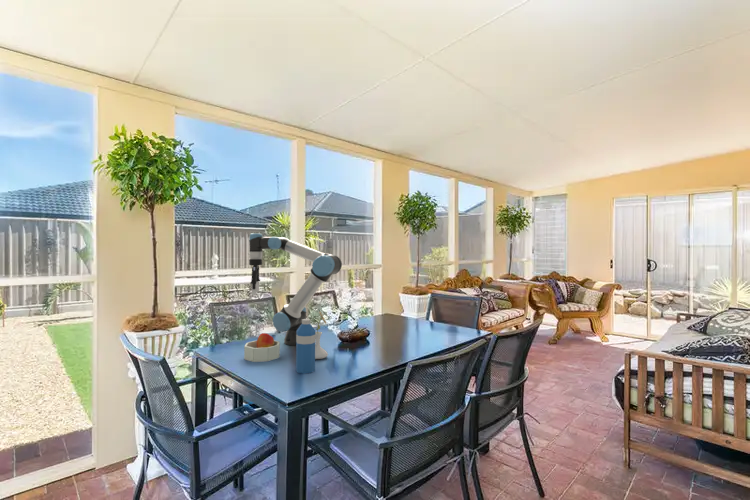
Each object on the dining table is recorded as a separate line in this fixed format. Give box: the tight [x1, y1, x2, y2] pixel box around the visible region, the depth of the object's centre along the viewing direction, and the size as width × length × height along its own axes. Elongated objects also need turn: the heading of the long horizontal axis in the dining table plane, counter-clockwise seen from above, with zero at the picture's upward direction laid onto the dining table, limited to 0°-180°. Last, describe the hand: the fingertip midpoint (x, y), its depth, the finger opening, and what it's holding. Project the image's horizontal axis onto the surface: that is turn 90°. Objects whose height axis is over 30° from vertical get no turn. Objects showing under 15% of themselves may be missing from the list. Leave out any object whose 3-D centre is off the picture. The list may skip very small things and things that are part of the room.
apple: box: [256, 332, 275, 348], centre depth 210 cm, size 10×10×10 cm
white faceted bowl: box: [243, 339, 281, 363], centre depth 207 cm, size 18×18×7 cm
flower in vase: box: [315, 311, 329, 360], centre depth 207 cm, size 13×11×25 cm
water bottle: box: [295, 318, 316, 374], centre depth 185 cm, size 9×9×25 cm
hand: (255, 293), depth 231 cm, fingers open, 13 cm apart
